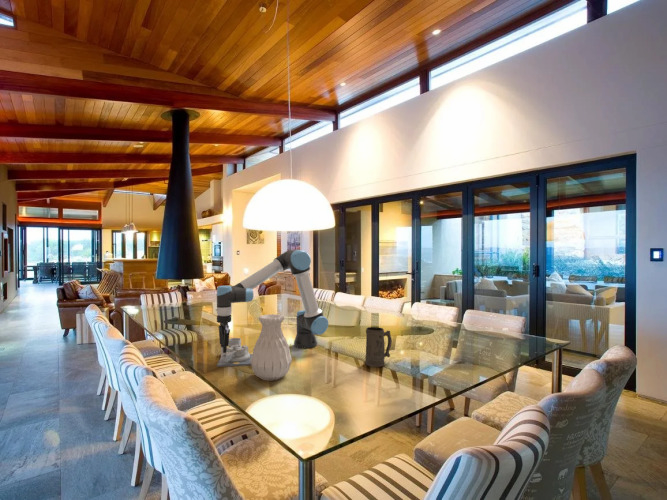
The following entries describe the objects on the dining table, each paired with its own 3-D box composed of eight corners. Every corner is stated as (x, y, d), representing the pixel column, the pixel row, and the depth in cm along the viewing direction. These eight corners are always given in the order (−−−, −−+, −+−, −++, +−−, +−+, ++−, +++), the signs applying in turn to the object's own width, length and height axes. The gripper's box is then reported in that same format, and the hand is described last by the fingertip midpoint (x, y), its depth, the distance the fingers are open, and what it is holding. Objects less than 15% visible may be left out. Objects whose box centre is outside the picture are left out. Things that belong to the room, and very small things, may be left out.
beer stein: (370, 368, 190) (373, 330, 191) (360, 362, 200) (362, 326, 200) (394, 366, 197) (396, 329, 198) (382, 360, 207) (385, 325, 207)
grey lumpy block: (233, 350, 209) (233, 344, 209) (250, 351, 207) (250, 345, 207) (215, 361, 189) (215, 354, 189) (233, 362, 187) (233, 355, 187)
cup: (239, 356, 212) (239, 341, 212) (222, 356, 212) (222, 340, 212) (242, 352, 219) (242, 337, 219) (226, 352, 219) (226, 337, 219)
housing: (257, 355, 213) (257, 342, 213) (254, 365, 195) (254, 351, 195) (222, 356, 210) (222, 344, 210) (216, 366, 192) (216, 352, 192)
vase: (273, 387, 164) (273, 322, 164) (242, 379, 175) (242, 317, 174) (299, 374, 181) (299, 315, 181) (270, 367, 192) (270, 311, 191)
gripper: (213, 313, 196) (213, 356, 196) (220, 317, 185) (220, 362, 186) (227, 312, 200) (227, 354, 201) (234, 315, 190) (234, 360, 190)
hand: (224, 358), depth 193 cm, fingers closed
